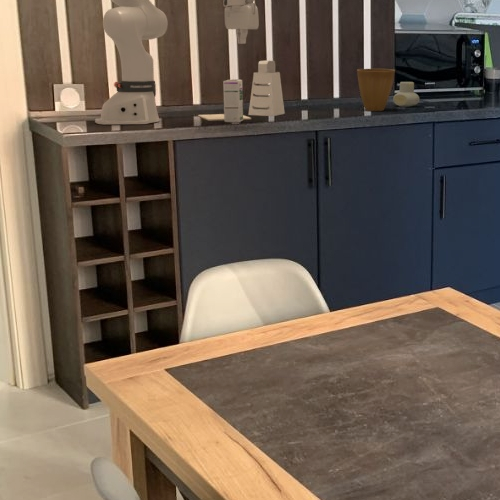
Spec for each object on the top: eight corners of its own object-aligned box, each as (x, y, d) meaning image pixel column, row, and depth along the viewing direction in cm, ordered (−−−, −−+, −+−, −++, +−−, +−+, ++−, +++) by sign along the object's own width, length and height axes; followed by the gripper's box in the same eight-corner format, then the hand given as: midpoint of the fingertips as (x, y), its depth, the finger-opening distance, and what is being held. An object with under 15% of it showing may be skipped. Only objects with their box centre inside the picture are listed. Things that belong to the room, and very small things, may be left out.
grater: (248, 114, 317) (248, 61, 312) (260, 112, 326) (260, 60, 321) (273, 116, 312) (273, 61, 307) (284, 113, 321) (285, 60, 316)
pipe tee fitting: (422, 106, 349) (423, 82, 346) (410, 107, 344) (411, 83, 341) (401, 105, 357) (402, 81, 354) (389, 106, 351) (390, 82, 349)
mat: (208, 120, 297) (208, 119, 297) (198, 116, 312) (198, 114, 312) (251, 119, 301) (251, 117, 301) (239, 114, 316) (239, 113, 316)
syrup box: (240, 122, 291) (239, 80, 287) (223, 122, 292) (223, 80, 289) (243, 120, 297) (243, 79, 293) (227, 120, 298) (226, 79, 294)
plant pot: (349, 109, 338) (350, 69, 334) (382, 108, 343) (384, 68, 339) (365, 112, 325) (367, 70, 320) (399, 111, 329) (401, 70, 325)
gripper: (263, -1, 266) (263, 44, 269) (238, 1, 284) (238, 43, 287) (245, -1, 263) (245, 44, 267) (221, 1, 281) (221, 43, 285)
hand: (241, 43), depth 277 cm, fingers closed
